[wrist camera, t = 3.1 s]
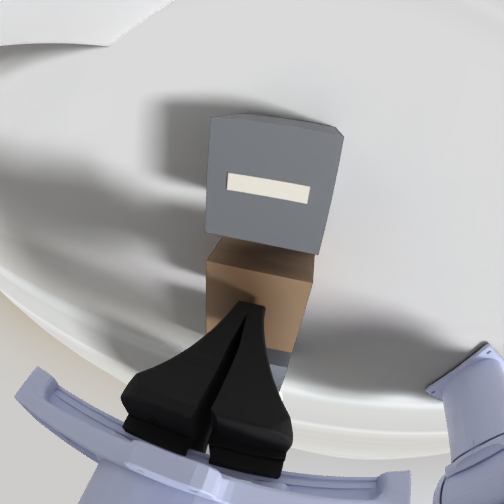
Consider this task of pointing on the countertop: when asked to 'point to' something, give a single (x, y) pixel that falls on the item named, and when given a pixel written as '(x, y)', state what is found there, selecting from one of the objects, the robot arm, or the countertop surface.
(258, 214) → the charcoal block
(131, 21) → the milk
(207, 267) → the walnut block
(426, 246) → the countertop surface
